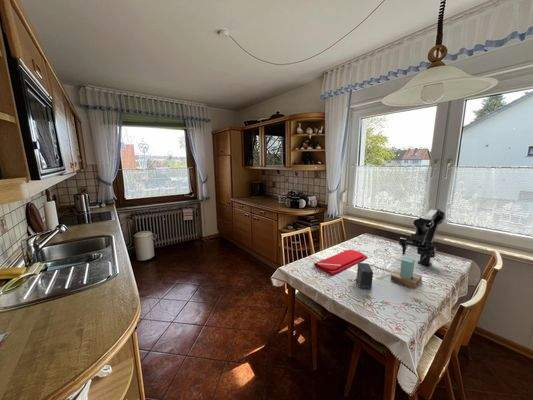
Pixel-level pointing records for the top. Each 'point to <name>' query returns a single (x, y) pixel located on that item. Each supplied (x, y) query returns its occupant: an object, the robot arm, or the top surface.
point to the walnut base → (406, 279)
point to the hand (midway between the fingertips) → (411, 257)
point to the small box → (364, 276)
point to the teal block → (407, 267)
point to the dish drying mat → (340, 262)
